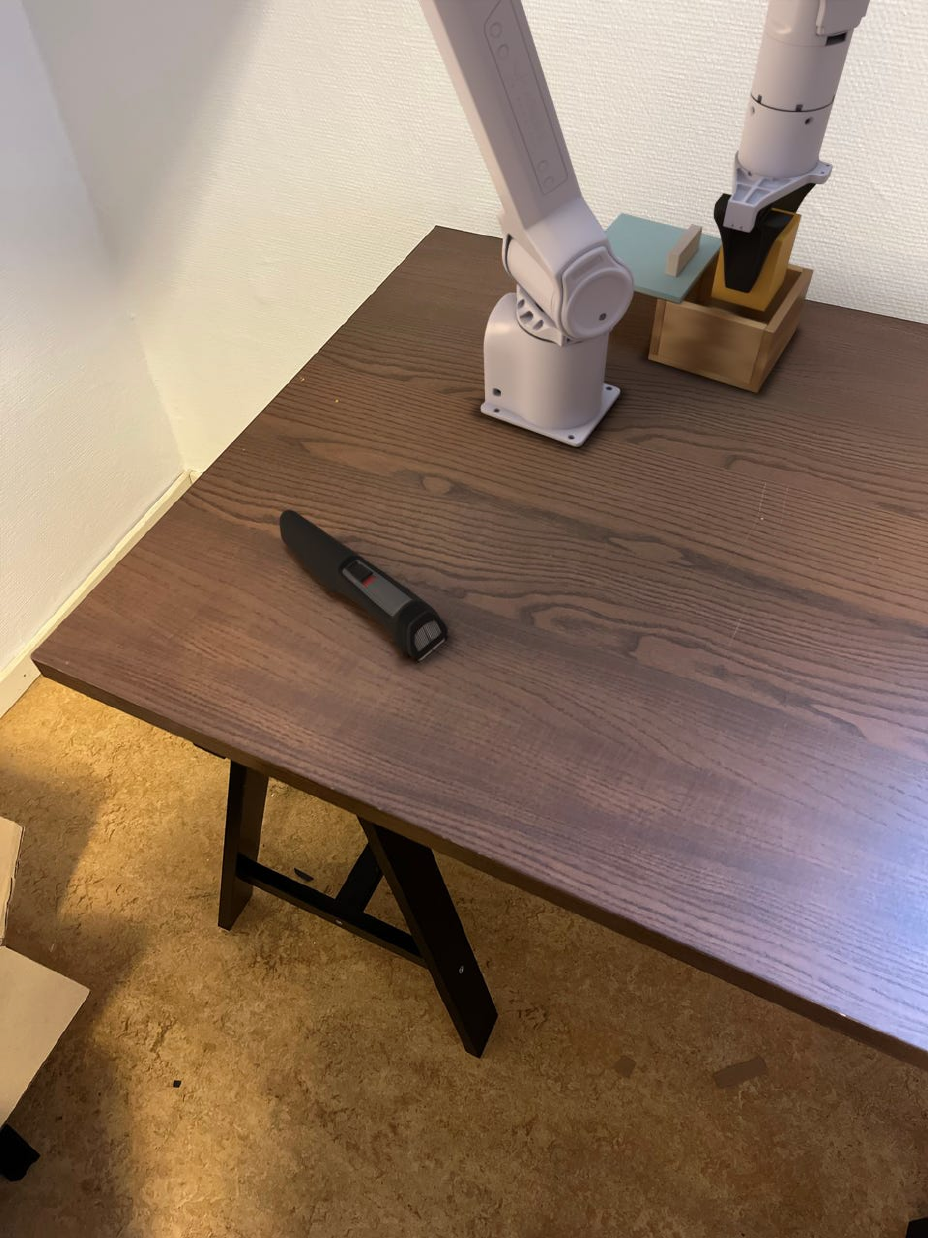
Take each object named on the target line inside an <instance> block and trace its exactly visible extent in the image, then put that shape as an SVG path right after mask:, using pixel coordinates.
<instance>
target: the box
mask: <svg viewBox="0 0 928 1238" xmlns="http://www.w3.org/2000/svg"><path fill="white" fill-rule="evenodd" d="M719 255H720V252H719V253H718V254H717V256H716V257H715V258H714V259H713V261H712V262H711V263H710V265H709V266H708V267H707V269H706V270H705V271H704V273H703V274H702V275H701V276H700V278H699V279H698V280H697V282H696V283H695V284H694V286H693V287H692V288H691V290H690V291H689V292H688V294H687V295H686V296H685V297H684V299H683V300H682V301H681V303H676V302H672V301H669V300H665V299H662V298H658V297H657V299H656V307H655V313H654V319H653V324H652V331H651V339H650V345H649V352H648V360H651V361H654V362H657V363H660V364H663V365H666V366H669V367H672V368H674V369H675V368H676V369H679V370H682V371H686V372H689V373H692V374H695V375H698V376H701V377H705V378H708V379H711V380H714V381H717V382H720V383H724V384H726V385H730V386H733V387H736V388H739V389H743V390H746V391H749V392H753V393H755V394H758V393H759V391H760V389H761V387H762V386H763V384H764V383H765V381H766V379H767V378H768V377H769V375H770V374H771V371H772V370H773V368H774V366H775V365H776V363H777V362H778V360H779V358H780V356H781V355H782V353H783V352H784V350H785V348H787V345H788V344H789V342H790V340H791V339H792V337H793V335H794V334H795V332H796V330H797V327H798V325H799V324H798V323H799V321H800V317H801V313H802V311H803V307H804V304H805V301H806V298H807V295H808V291H809V288H810V285H811V283H812V278H813V275H814V269H812V268H807V267H805V266H800V265H796V264H792V263H788V266H787V270H786V273H785V277H784V281H783V284H782V285H781V287H780V288H779V290H778V291H777V293H776V294H775V296H774V297H773V299H772V300H771V302H770V303H769V305H768V306H767V308H766V309H765V311H764V312H763V311H760V310H756V309H753V308H749V307H745V306H742V305H738V304H735V303H731V302H728V301H724V300H720V299H717V298H713V297H711V293H712V288H713V284H714V279H715V274H716V269H717V264H718V260H719Z"/></svg>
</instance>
